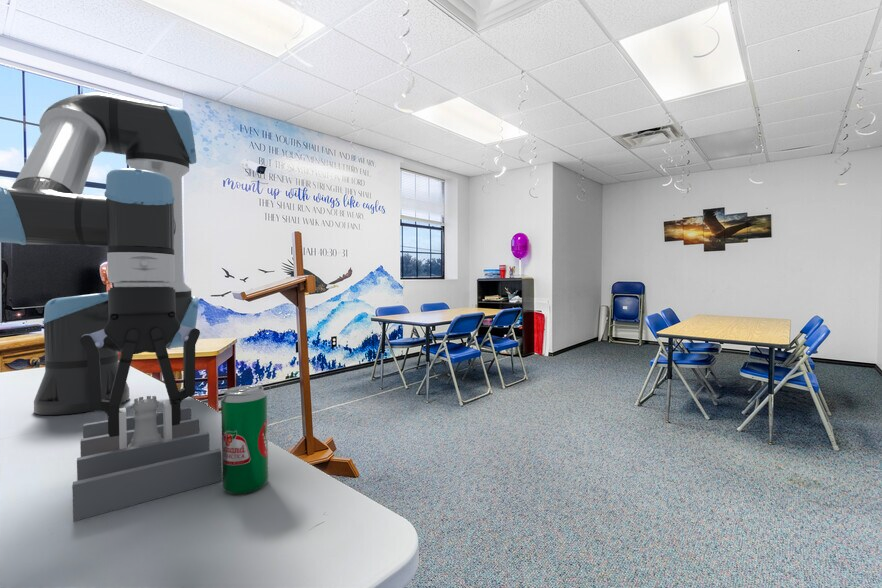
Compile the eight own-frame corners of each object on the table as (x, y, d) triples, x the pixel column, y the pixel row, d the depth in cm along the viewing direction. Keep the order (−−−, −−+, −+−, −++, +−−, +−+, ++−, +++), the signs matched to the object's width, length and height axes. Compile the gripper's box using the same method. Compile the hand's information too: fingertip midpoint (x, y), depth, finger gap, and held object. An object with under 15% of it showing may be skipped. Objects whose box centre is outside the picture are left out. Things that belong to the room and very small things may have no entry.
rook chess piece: (139, 449, 59) (138, 394, 59) (172, 448, 60) (171, 393, 60) (118, 463, 55) (116, 403, 55) (153, 461, 55) (152, 402, 55)
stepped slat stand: (84, 448, 63) (83, 424, 63) (190, 428, 71) (190, 406, 71) (73, 521, 43) (72, 485, 43) (221, 480, 52) (221, 451, 52)
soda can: (212, 492, 49) (211, 392, 49) (247, 474, 54) (245, 382, 54) (244, 500, 47) (242, 396, 47) (277, 480, 52) (275, 386, 52)
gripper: (53, 285, 48) (58, 482, 49) (219, 285, 59) (221, 445, 60) (59, 285, 54) (63, 461, 55) (209, 285, 65) (211, 431, 66)
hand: (146, 452), depth 57 cm, fingers closed on rook chess piece, 4 cm apart
